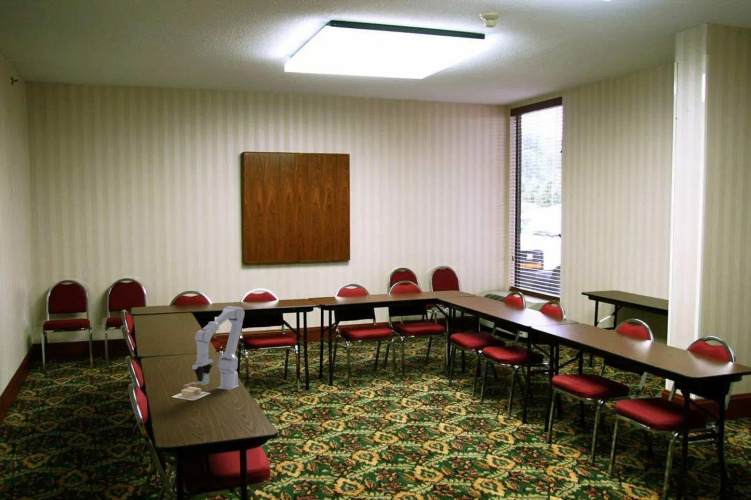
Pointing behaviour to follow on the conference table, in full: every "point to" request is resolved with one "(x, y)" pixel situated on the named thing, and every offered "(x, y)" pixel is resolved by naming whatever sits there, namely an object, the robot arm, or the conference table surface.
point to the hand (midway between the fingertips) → (202, 380)
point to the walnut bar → (190, 385)
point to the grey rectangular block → (204, 379)
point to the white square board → (191, 397)
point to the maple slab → (191, 392)
